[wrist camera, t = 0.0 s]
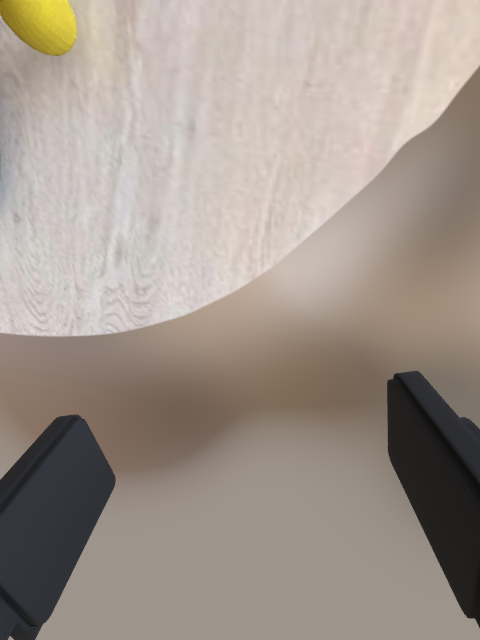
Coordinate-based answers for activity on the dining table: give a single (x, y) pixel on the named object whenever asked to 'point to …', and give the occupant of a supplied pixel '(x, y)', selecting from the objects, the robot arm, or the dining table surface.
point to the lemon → (41, 24)
